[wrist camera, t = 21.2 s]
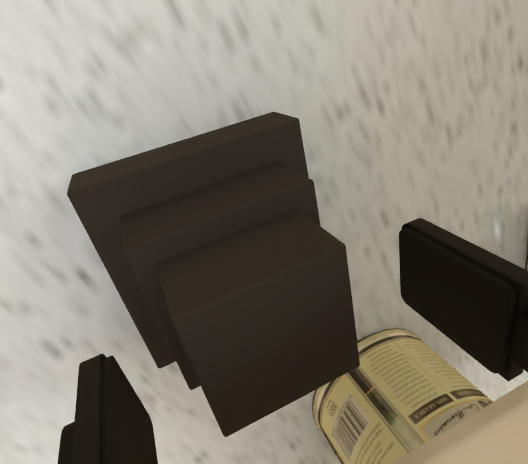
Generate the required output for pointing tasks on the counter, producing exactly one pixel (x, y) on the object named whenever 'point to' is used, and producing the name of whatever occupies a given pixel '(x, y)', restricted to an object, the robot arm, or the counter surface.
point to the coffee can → (393, 400)
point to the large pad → (173, 194)
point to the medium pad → (207, 230)
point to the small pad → (263, 316)
